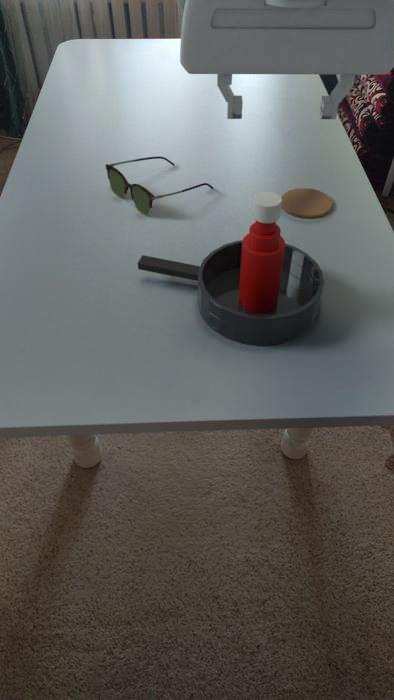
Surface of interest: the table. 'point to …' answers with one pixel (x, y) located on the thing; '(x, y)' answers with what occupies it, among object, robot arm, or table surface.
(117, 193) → the sunglasses
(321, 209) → the coaster
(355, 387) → the table surface
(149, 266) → the pan handle
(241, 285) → the sauce bottle
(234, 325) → the pan
